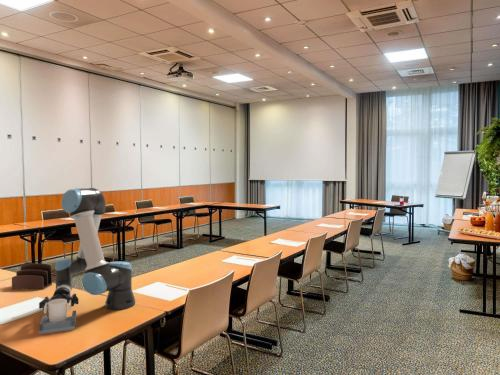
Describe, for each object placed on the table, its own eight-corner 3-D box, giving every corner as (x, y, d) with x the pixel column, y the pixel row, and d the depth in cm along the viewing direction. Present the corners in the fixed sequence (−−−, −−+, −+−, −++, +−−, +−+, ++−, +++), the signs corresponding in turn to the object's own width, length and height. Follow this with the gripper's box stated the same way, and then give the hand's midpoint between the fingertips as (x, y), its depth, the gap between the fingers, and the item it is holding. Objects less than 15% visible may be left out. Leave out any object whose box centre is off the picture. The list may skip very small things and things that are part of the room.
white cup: (49, 320, 178) (49, 299, 177) (68, 318, 180) (67, 297, 180) (47, 327, 170) (46, 305, 170) (66, 324, 173) (66, 303, 173)
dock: (43, 322, 180) (43, 314, 179) (76, 318, 185) (76, 310, 184) (39, 334, 166) (39, 325, 166) (74, 329, 172) (74, 320, 171)
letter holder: (21, 284, 243) (21, 262, 242) (52, 285, 242) (51, 263, 242) (11, 289, 233) (10, 266, 232) (43, 289, 232) (42, 266, 232)
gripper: (85, 298, 196) (84, 313, 175) (37, 304, 188) (29, 320, 167) (85, 284, 196) (83, 297, 175) (37, 289, 188) (29, 303, 167)
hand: (57, 308), depth 171 cm, fingers open, 9 cm apart
